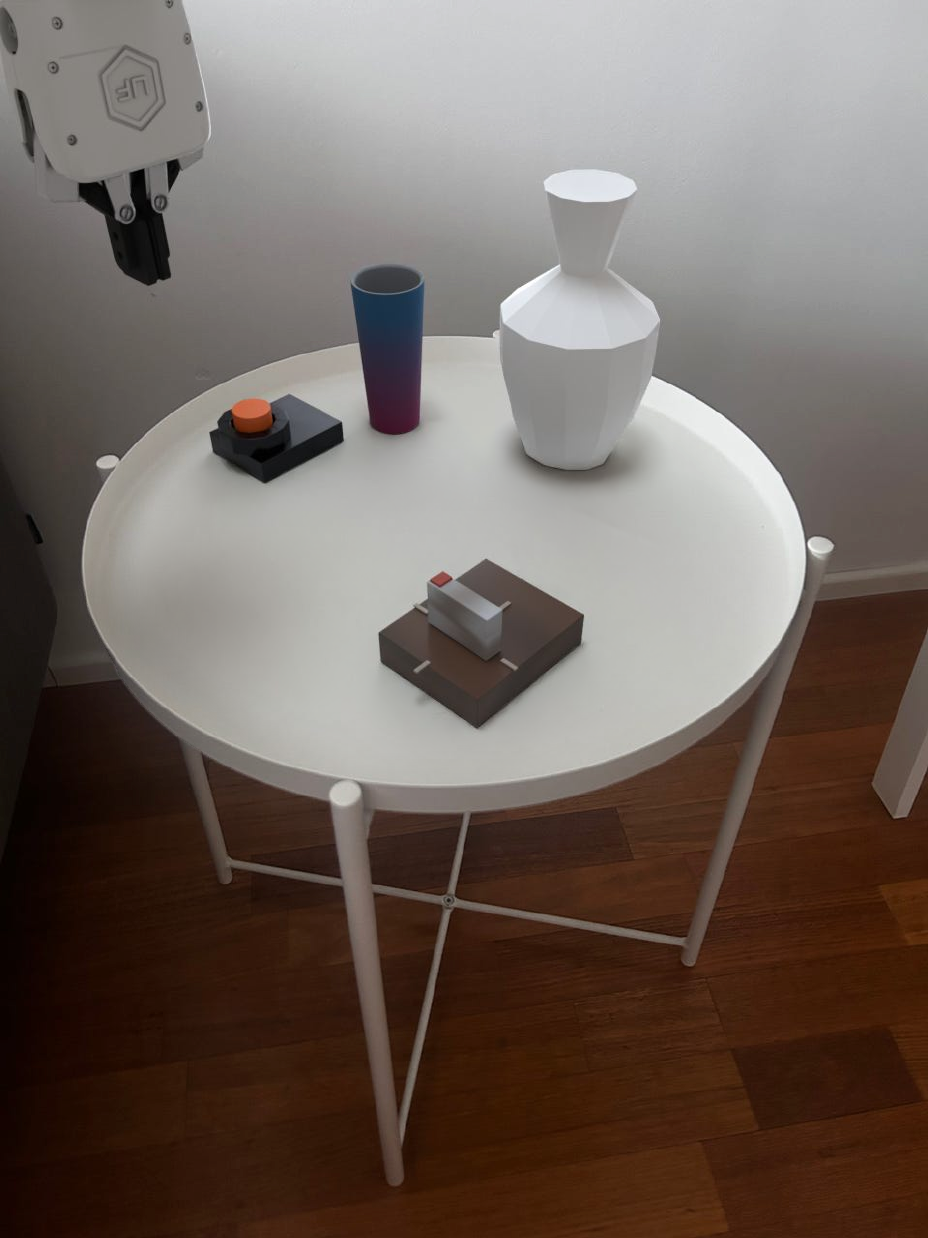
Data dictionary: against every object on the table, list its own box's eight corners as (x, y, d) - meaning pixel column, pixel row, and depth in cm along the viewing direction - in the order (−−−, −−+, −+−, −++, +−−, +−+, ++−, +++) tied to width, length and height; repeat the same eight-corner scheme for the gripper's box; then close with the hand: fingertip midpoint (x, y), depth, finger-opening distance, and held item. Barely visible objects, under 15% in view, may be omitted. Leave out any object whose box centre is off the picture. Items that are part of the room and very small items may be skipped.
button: (250, 438, 93) (247, 422, 92) (226, 424, 95) (223, 408, 94) (280, 423, 95) (278, 407, 94) (256, 410, 97) (254, 394, 96)
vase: (465, 450, 98) (466, 186, 81) (555, 396, 106) (573, 144, 89) (581, 509, 91) (609, 233, 74) (669, 445, 99) (712, 183, 82)
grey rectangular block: (501, 650, 73) (503, 606, 70) (486, 661, 72) (487, 617, 69) (443, 612, 76) (442, 568, 73) (427, 622, 75) (426, 578, 73)
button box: (258, 486, 94) (252, 450, 91) (206, 454, 98) (198, 418, 95) (344, 441, 100) (341, 405, 97) (291, 412, 104) (287, 377, 101)
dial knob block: (467, 738, 71) (468, 707, 69) (368, 668, 76) (365, 637, 74) (582, 643, 78) (585, 613, 76) (484, 585, 83) (485, 555, 81)
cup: (438, 431, 101) (435, 287, 91) (373, 444, 99) (363, 299, 89) (415, 398, 106) (410, 258, 96) (352, 411, 104) (341, 269, 94)
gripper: (-32, -43, 46) (73, 335, 58) (234, -81, 54) (277, 257, 66) (-106, -63, 49) (7, 296, 62) (152, -95, 57) (207, 227, 70)
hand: (146, 275), depth 64 cm, fingers closed
